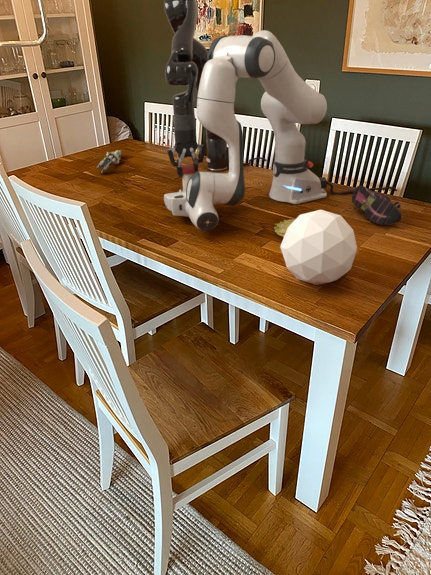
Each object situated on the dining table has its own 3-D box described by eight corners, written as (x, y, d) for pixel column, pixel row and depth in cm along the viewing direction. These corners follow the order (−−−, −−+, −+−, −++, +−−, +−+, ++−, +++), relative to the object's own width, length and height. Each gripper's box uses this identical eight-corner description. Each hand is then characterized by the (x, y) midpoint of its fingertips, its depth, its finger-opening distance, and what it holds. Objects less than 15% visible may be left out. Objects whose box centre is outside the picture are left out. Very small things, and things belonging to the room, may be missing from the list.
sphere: (293, 297, 126) (258, 236, 124) (350, 261, 128) (317, 201, 126) (319, 302, 107) (278, 231, 105) (385, 260, 109) (347, 189, 107)
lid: (186, 175, 156) (186, 170, 155) (177, 172, 159) (177, 167, 158) (197, 171, 159) (197, 167, 158) (188, 168, 162) (188, 164, 161)
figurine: (101, 154, 197) (119, 141, 223) (91, 167, 200) (110, 152, 227) (114, 165, 199) (130, 151, 225) (103, 178, 203) (121, 162, 229)
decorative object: (286, 211, 157) (342, 219, 147) (286, 217, 158) (341, 226, 148) (260, 233, 142) (319, 243, 133) (260, 240, 144) (319, 251, 134)
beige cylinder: (190, 204, 169) (188, 166, 161) (198, 207, 167) (196, 169, 159) (181, 208, 167) (179, 169, 159) (189, 211, 164) (186, 171, 156)
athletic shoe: (393, 214, 141) (421, 210, 145) (357, 172, 153) (384, 169, 157) (376, 239, 150) (403, 235, 154) (344, 197, 161) (370, 194, 166)
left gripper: (201, 122, 156) (203, 170, 165) (161, 126, 152) (166, 175, 161) (208, 126, 150) (210, 176, 159) (167, 131, 146) (171, 181, 155)
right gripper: (225, 191, 153) (215, 179, 164) (167, 199, 149) (160, 185, 160) (225, 209, 156) (215, 195, 168) (168, 216, 152) (162, 202, 164)
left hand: (187, 175), depth 160 cm, fingers closed on lid, 5 cm apart
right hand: (188, 190), depth 164 cm, fingers closed on beige cylinder, 4 cm apart
